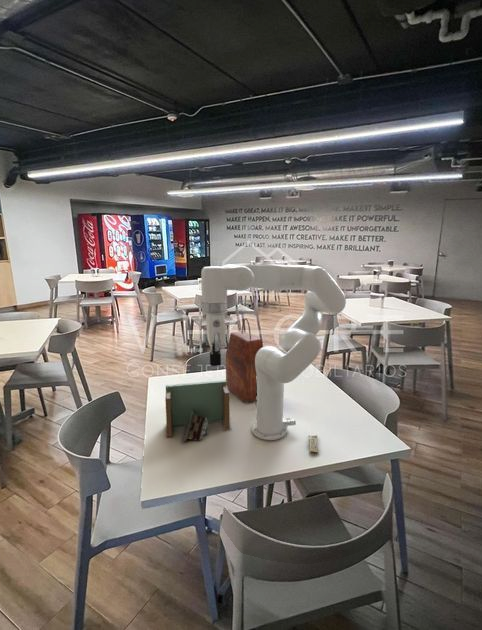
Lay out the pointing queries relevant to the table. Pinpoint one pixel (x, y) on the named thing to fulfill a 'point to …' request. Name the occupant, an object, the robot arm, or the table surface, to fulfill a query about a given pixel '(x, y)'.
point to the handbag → (242, 364)
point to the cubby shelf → (197, 403)
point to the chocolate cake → (196, 427)
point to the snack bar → (313, 444)
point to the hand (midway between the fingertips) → (215, 364)
